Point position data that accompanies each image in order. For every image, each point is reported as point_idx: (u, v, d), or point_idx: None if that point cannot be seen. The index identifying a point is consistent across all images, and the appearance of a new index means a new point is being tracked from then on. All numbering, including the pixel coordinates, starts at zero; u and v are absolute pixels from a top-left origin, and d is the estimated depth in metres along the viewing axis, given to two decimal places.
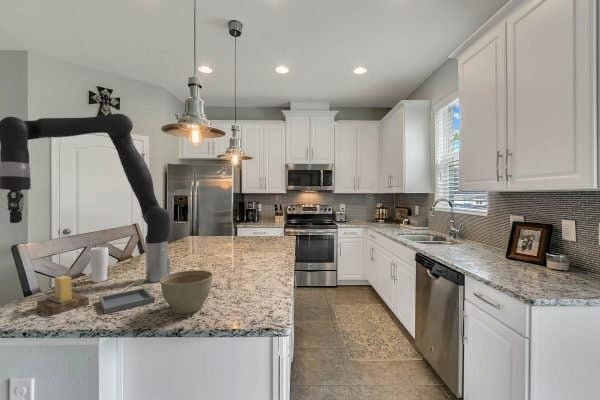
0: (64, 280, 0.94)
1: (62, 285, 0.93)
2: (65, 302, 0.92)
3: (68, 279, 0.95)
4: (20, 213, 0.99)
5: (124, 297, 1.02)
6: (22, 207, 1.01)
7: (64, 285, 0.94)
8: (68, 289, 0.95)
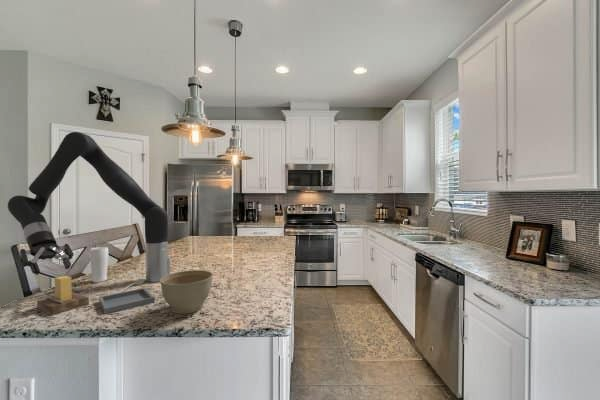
0: (64, 280, 0.94)
1: (62, 285, 0.93)
2: (65, 302, 0.92)
3: (68, 279, 0.95)
4: (64, 260, 1.03)
5: (124, 297, 1.02)
6: (70, 254, 1.05)
7: (64, 285, 0.94)
8: (68, 289, 0.95)
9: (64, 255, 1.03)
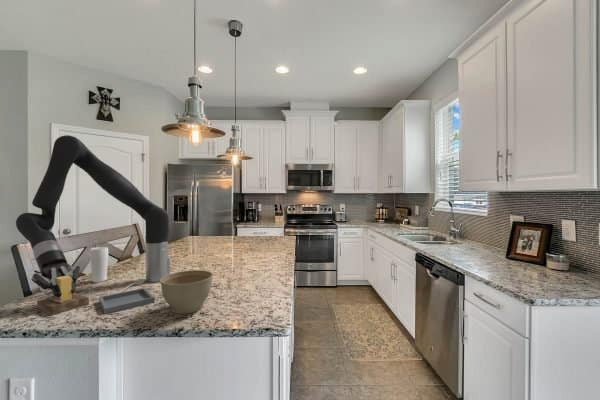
0: (64, 280, 0.94)
1: (62, 285, 0.93)
2: (65, 302, 0.92)
3: (68, 279, 0.95)
4: None
5: (124, 297, 1.02)
6: (75, 277, 0.99)
7: (64, 285, 0.94)
8: (68, 289, 0.95)
9: None
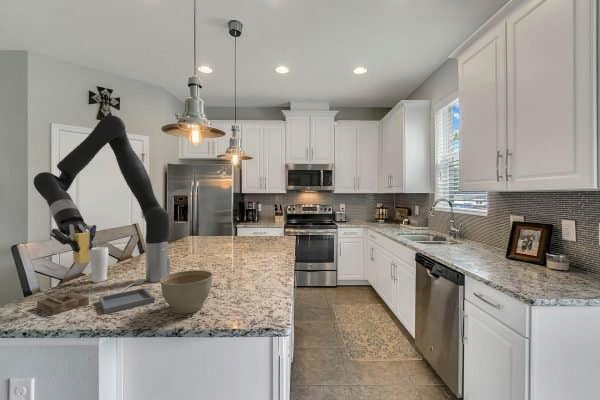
0: (82, 235, 0.95)
1: (80, 240, 0.94)
2: (65, 302, 0.92)
3: (86, 235, 0.96)
4: None
5: (124, 297, 1.02)
6: (92, 235, 1.00)
7: (82, 240, 0.95)
8: (86, 245, 0.96)
9: None
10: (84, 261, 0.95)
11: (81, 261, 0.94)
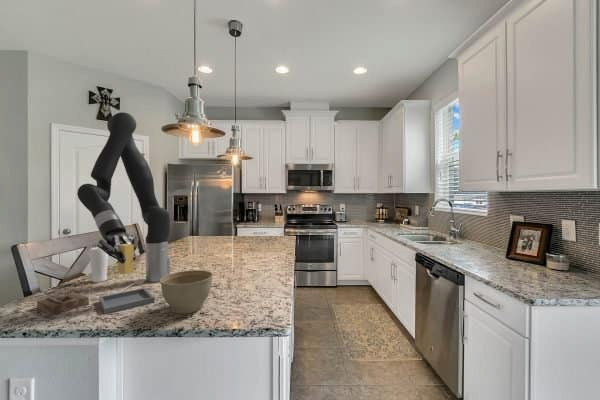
0: (128, 247, 0.97)
1: (126, 251, 0.96)
2: (65, 302, 0.92)
3: (131, 246, 0.98)
4: None
5: (124, 297, 1.02)
6: (135, 246, 1.02)
7: (128, 251, 0.97)
8: (131, 256, 0.98)
9: None
10: (128, 272, 0.97)
11: (126, 272, 0.96)
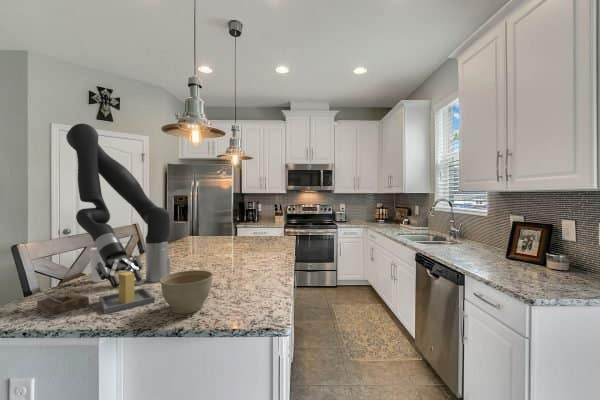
0: (128, 276, 0.97)
1: (126, 280, 0.96)
2: (65, 302, 0.92)
3: (131, 275, 0.98)
4: (136, 272, 1.01)
5: None
6: (140, 266, 1.04)
7: (128, 280, 0.97)
8: (131, 285, 0.98)
9: (135, 267, 1.02)
10: (129, 301, 0.97)
11: (127, 301, 0.96)
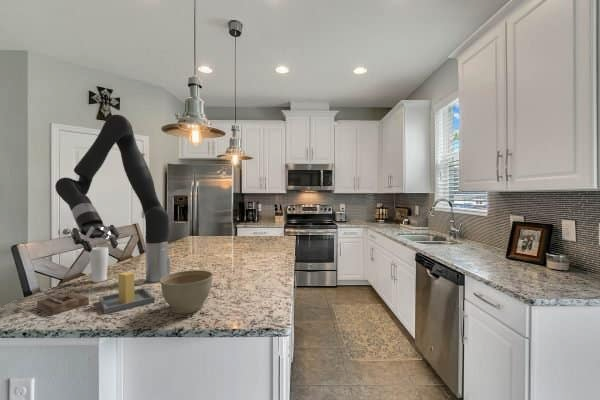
0: (128, 276, 0.97)
1: (126, 280, 0.96)
2: (65, 302, 0.92)
3: (131, 275, 0.98)
4: (112, 240, 1.06)
5: None
6: (116, 234, 1.09)
7: (128, 280, 0.97)
8: (131, 285, 0.98)
9: (111, 235, 1.07)
10: (129, 301, 0.97)
11: (127, 301, 0.96)
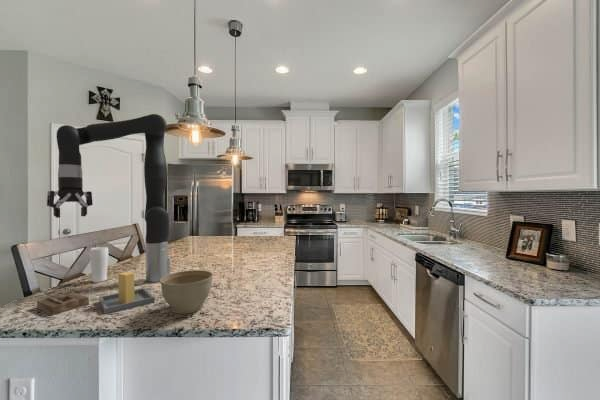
0: (128, 276, 0.97)
1: (126, 280, 0.96)
2: (65, 302, 0.92)
3: (131, 275, 0.98)
4: (83, 209, 1.13)
5: None
6: (90, 204, 1.15)
7: (128, 280, 0.97)
8: (131, 285, 0.98)
9: (84, 204, 1.14)
10: (129, 301, 0.97)
11: (127, 301, 0.96)
